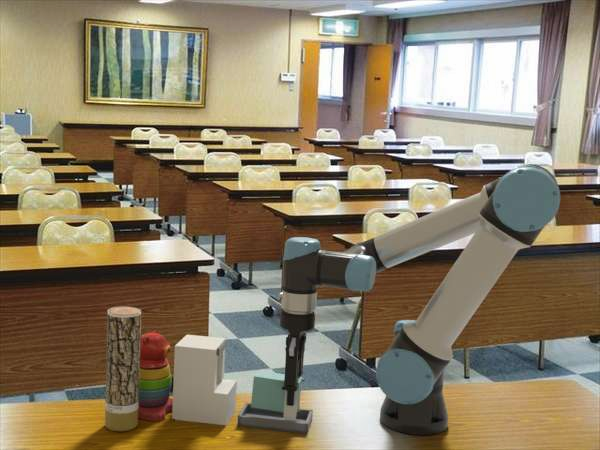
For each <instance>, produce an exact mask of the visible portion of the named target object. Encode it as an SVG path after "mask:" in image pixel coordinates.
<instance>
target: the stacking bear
mask: <svg viewBox="0 0 600 450" xmlns="http://www.w3.org/2000/svg"><path fill="white" fill-rule="evenodd" d="M170 352H171V345H170V343H169V341H167V339H166V338H165V337H164V335H162V334H161V333H158V330H156V329H154V330H152V331H151V332H146V333H144V334H141V338H140V372H139V406H138V419H141V420H144V419H145V421H149V422H161V421H163V420H164V419H166V414H168V413H170V412H172V410H173V397H172V398H171V397H170V394H171V390H172V384H173V380H172V379H173V377H172V373H171V367H170V364H169V360H168V358H166V357H168V355H169V354H170Z"/></svg>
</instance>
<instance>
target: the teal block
mask: <svg viewBox="0 0 600 450" xmlns="http://www.w3.org/2000/svg"><path fill="white" fill-rule="evenodd" d="M302 377H303V376H301V377H299V376H298V384H297V387H298V399H297V411H298V408H299V402H300V403H301V391H302V382H303V381H302ZM284 379H285V373H279V372H271V371H265V370H257V371H256V372H255V374H254V375H253V383H252V391H251V402H250V403H251V407H253V408H260V409H266V410H273V411H279V412H284V399H285V390H282V386H283V387H284Z"/></svg>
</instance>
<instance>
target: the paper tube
mask: <svg viewBox="0 0 600 450" xmlns="http://www.w3.org/2000/svg"><path fill="white" fill-rule="evenodd" d="M106 316H107V317H106V319H107V320H106V358H105V359H106V360H105V394H104V395H105V396H104V397H105V398H104V399H105V401H104V402H105V403H104V404H105V406H104V425H105V427H106V429H107V430H109V431H112V432H117V431H118V432H129V431H132V430H134V429H135V428H136V427H137V426H138V425H139V423H138V422H139V418H138V406H139V372H140V338H141V336H142V333H141V332H142V310H141V309H140V308H137V307H132V306H114V307H111V308H108V309H107V315H106Z"/></svg>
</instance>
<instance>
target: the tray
mask: <svg viewBox="0 0 600 450" xmlns="http://www.w3.org/2000/svg"><path fill="white" fill-rule="evenodd" d="M240 410H241V411H240V412H239V414H238V415H237V427H243V428H251V429H261V430H270V431H276V432H277V431H279V432H287V433H297V434H304V435H308V433H309V430H310V427H311V425H312V421H313V413H314V410H313V409H310V408H309V409H308V408H299V412H298V411H297V414H296V420H294V419H285V418H283V415H284V412H279V411H273V410H266V409H260V408H253V407H251V402H245V404H244V406H243V407H242V408H241V409H240Z"/></svg>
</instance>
